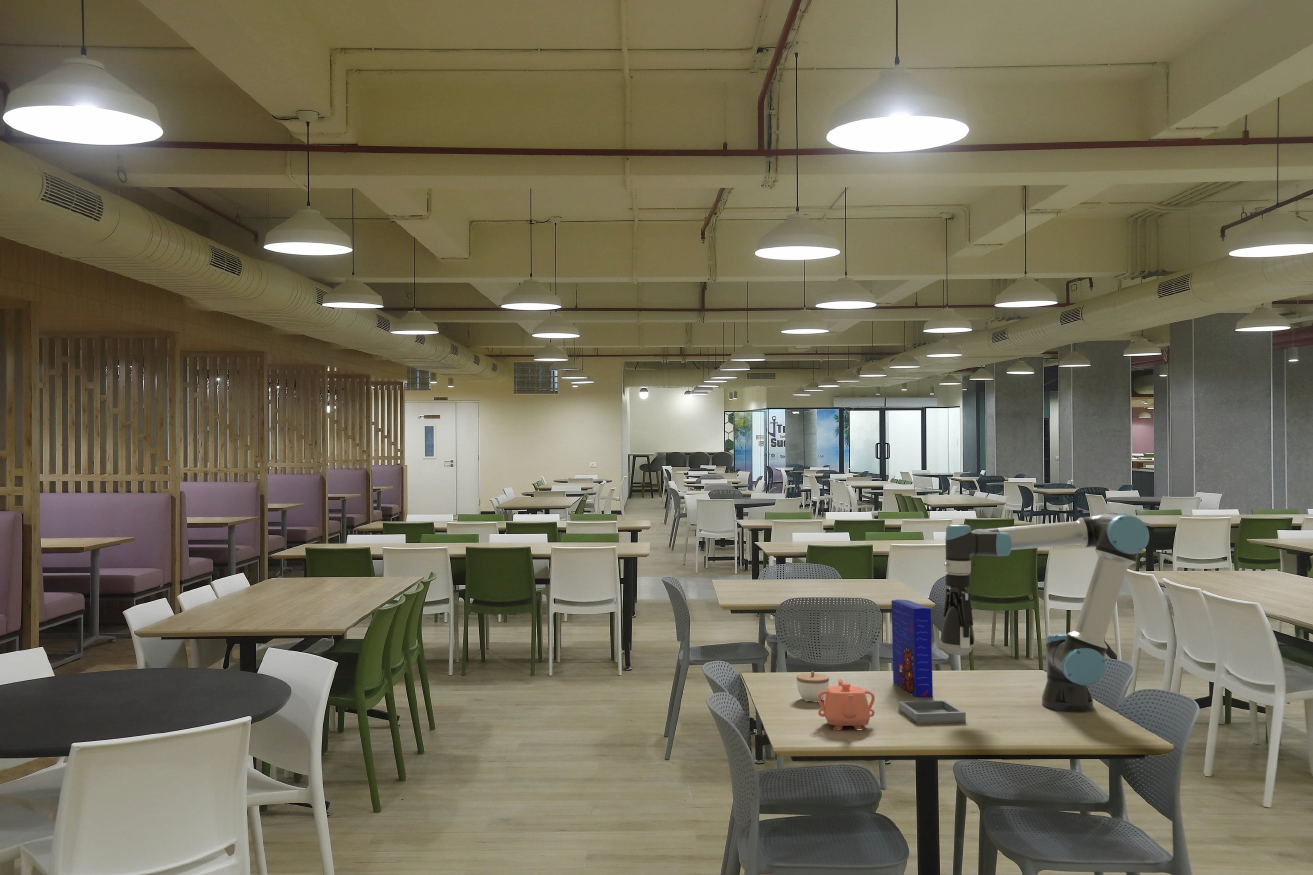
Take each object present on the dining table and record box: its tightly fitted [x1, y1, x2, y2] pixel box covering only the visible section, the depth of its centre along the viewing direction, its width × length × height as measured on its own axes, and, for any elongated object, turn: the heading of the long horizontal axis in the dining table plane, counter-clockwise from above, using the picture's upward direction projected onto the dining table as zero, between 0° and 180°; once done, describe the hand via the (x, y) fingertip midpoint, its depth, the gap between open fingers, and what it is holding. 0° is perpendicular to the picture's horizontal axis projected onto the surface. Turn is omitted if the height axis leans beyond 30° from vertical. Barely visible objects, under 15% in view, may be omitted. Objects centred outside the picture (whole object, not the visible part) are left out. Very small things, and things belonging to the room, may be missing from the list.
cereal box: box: [891, 599, 934, 698], centre depth 316 cm, size 22×6×30 cm, turn 5°
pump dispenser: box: [940, 605, 976, 656], centre depth 283 cm, size 10×10×15 cm
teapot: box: [817, 678, 876, 730], centre depth 271 cm, size 15×17×13 cm
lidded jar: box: [796, 671, 830, 703], centre depth 302 cm, size 11×11×9 cm
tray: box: [897, 699, 967, 725], centre depth 280 cm, size 15×15×3 cm
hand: (957, 644), depth 283 cm, fingers closed on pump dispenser, 10 cm apart
